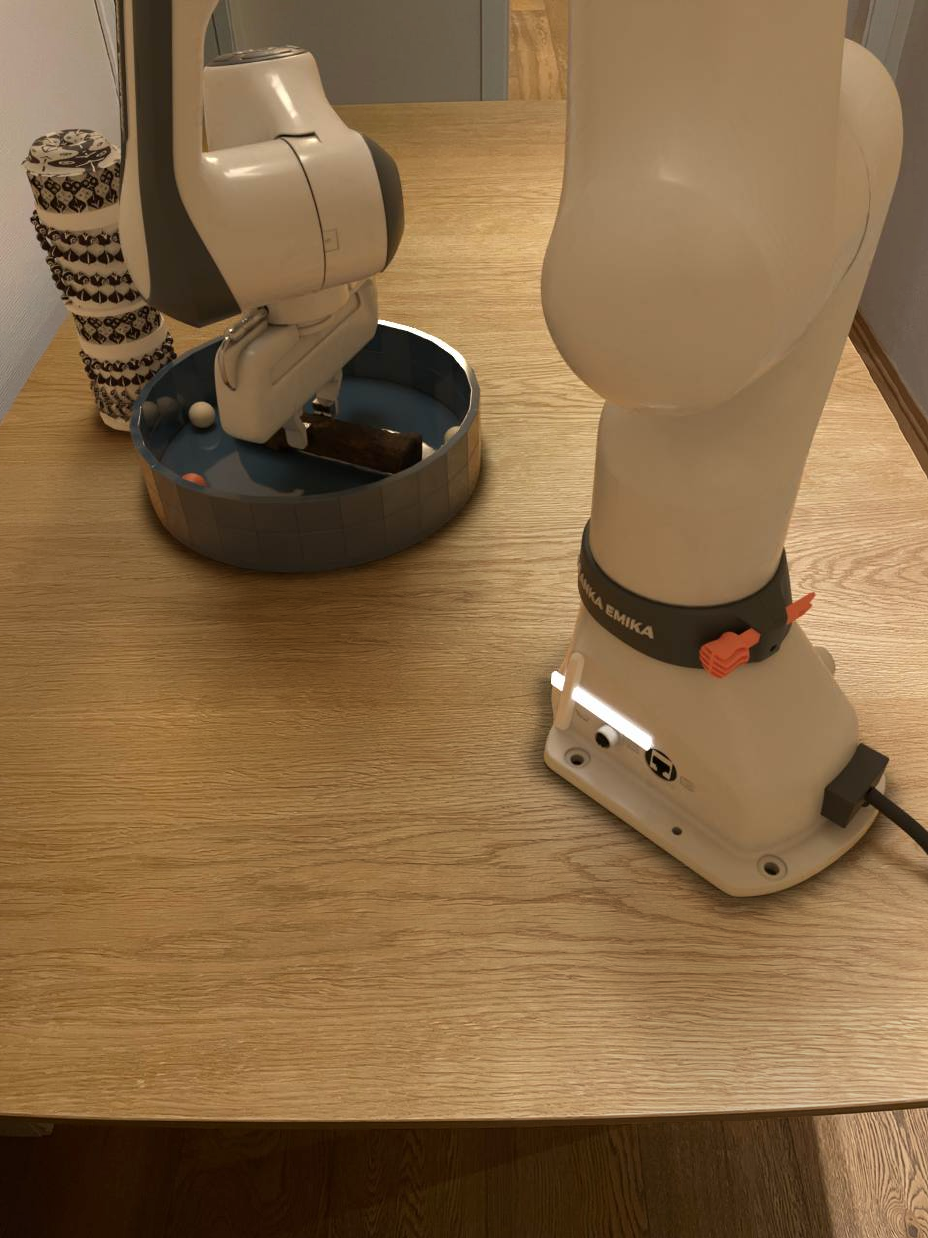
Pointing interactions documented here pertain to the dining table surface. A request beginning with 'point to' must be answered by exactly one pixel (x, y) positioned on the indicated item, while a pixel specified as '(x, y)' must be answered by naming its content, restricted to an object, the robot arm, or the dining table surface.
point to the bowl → (313, 461)
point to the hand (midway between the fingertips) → (314, 430)
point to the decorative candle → (95, 267)
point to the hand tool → (356, 444)
